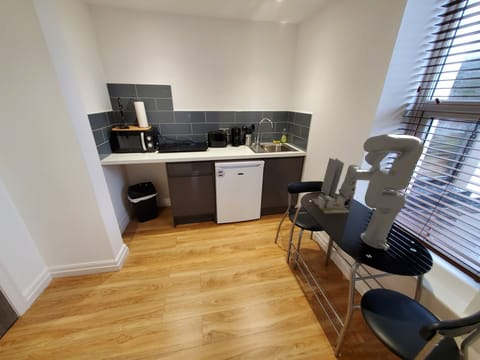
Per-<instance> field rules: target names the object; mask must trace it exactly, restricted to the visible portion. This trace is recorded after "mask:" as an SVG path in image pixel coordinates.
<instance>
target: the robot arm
mask: <svg viewBox="0 0 480 360" xmlns="http://www.w3.org/2000/svg"><path fill="white" fill-rule="evenodd" d="M424 147H425V146H424V143H423V141H422V140H421V138H419V137H417V136H414V135H406V134H404V135H403V134H391V133H389V134H388V133H387V134H380V135H375V136H374V135H373V136H370V137H369V138H367V139H366V140H365V142H364V143H363V150H364V152H366V153H367V154H366V155H365V156H364V161H365V162H366V163H367V164H368V165H370V166H371V167H370V168H369V169H367V168H366V169H365V168H361V166H359V165H355V164H350V165H349V166H348V167H347V171H346V174H345V176H344V180H343V182H342V184H341V187H340V188H339V189H338V194H339V195H338V196H341V195H344V196H345V197H346V201H345V203H344V207H349V205H350V203H351V201H352V202H353V201H354V198H355V197H354V196H355V194H356V188H357V181H365V182H366V181H368V185H367V188H366V191H365V195H364V204H365V205H366V207H368V208H370V209H374V211H373V212H372V214H371V215H372V216H371V218H370V219H369V223H368V225H367V227H366V229H365V231H364V232H362V233H360V239H361V240H362V241H363V243H364V244H366V245H368V246H370V247H372V248H375V249H381V250H384V251H388V250H389V248H390V247H391V246H390V245H389V244H387V241H388V240H387V236H388V234H389V232H390V230H391V229H392V227H393V224H394V222H395V221H396V218H397V216H398V214H399V213H400V212H401V211H402V210H403V208H404V207H405V204H406V198H405V196H404V195H403V194H402V193H400V192H398V191H403V190H405V189H407V187H408V185H409V183H410V181H411V178H412V175H413V173H414V170H415V168H416V165H417V164H418V162H419V160H420V159H421V157H422V155H423V152H424V149H425V148H424ZM390 153H400V154H399V155H398V156H397V157H396V158H395V159H394V160H393V161H392V163H391V167H390V169H389V170H385V169H381V167H382V166H381V162H382V161H383V160H384V159H385V158H386V157H387V156H388V155H389V154H390ZM348 198H349V199H348Z"/></svg>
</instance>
